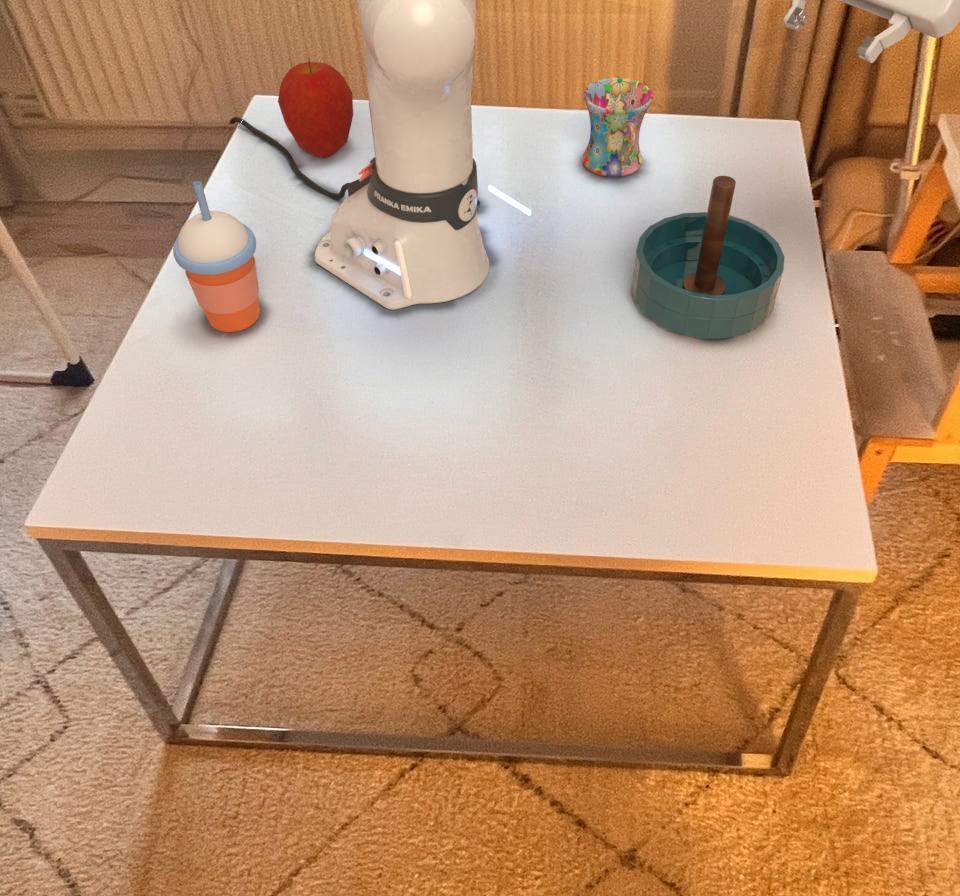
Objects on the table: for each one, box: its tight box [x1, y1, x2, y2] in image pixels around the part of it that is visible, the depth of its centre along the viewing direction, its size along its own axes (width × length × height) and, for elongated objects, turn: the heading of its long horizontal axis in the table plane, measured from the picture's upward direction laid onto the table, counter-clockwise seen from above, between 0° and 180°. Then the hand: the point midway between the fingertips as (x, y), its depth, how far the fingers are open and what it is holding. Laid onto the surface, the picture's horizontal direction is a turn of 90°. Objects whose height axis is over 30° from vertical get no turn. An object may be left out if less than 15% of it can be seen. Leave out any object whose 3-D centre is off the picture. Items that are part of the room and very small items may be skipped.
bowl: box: [631, 211, 786, 340], centre depth 109 cm, size 17×17×6 cm
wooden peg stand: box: [682, 175, 737, 295], centre depth 105 cm, size 5×5×15 cm
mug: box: [581, 77, 654, 178], centre depth 127 cm, size 12×9×11 cm
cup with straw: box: [172, 180, 261, 333], centre depth 104 cm, size 9×9×18 cm
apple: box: [277, 58, 354, 159], centre depth 131 cm, size 10×10×14 cm
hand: (825, 42), depth 96 cm, fingers open, 8 cm apart
